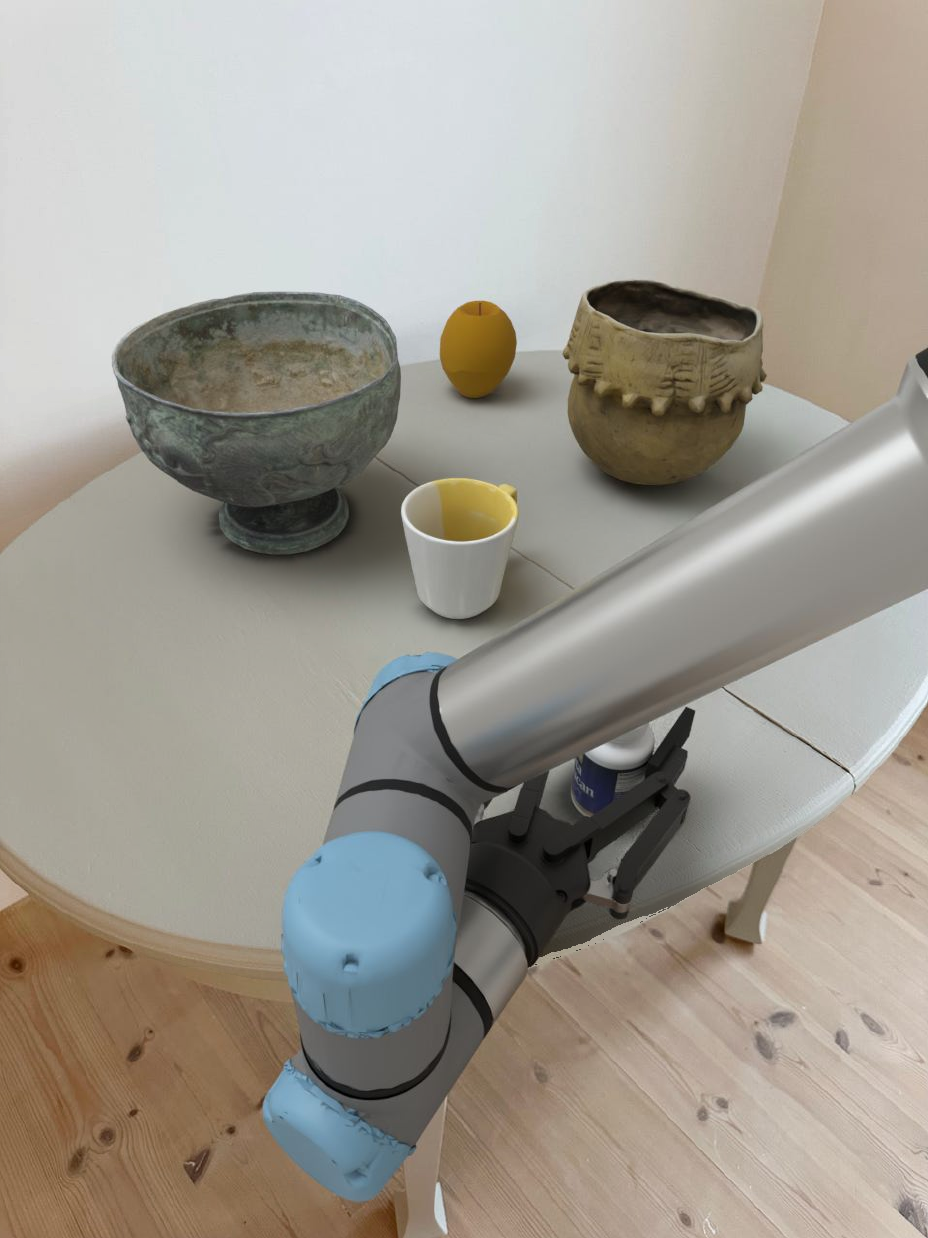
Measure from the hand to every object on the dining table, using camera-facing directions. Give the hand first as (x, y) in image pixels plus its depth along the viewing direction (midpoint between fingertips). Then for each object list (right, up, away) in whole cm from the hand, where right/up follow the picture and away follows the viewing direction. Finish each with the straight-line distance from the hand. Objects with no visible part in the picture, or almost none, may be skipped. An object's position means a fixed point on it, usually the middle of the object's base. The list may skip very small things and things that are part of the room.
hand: (645, 703), depth 72 cm
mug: (-13, +9, +19) cm, 25 cm away
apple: (-12, +35, +51) cm, 63 cm away
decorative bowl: (-33, +17, +28) cm, 46 cm away
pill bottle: (-3, -7, +1) cm, 8 cm away
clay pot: (+7, +23, +37) cm, 44 cm away
